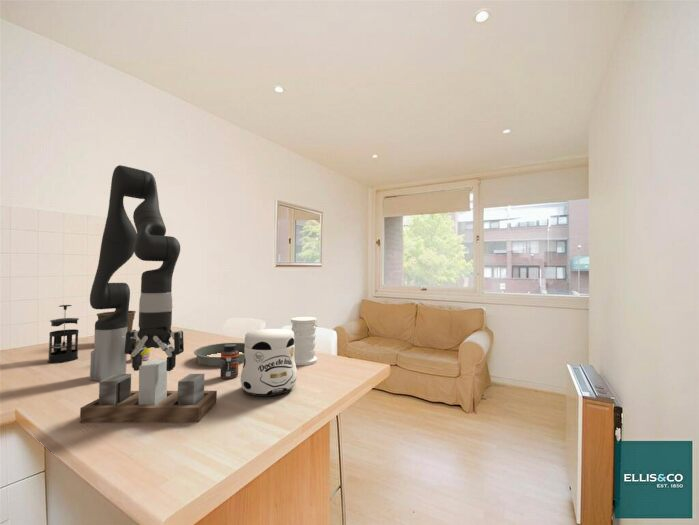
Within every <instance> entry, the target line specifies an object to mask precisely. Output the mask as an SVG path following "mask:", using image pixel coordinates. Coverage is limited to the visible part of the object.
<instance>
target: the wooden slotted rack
mask: <svg viewBox="0 0 699 525" xmlns="http://www.w3.org/2000/svg"><path fill="white" fill-rule="evenodd" d="M98 382H99V385H98V388H99V389H98V398H97V399H95V400H93V401H91V402H89V403H87V404H85V405H83V406H81V407H80V408H79V410H80V411H79V414H80V415H79V423H83V424H84V423H85V424H86V423H89V424H91V423H92V424H95V423H96V424H97V423H99V424H102V423H103V424H104V423H108V424H109V423H112V424H113V423H114V424H115V423H121V424H123V423H129V424H130V423H200V421H202V420H203V419H204V418H205V416H206V415H207V414H208V413H209V412H210V411H211V410H212V409H213V408H214V406H216V405H217V401H218V400H217V397H218V396H217V394H218V392H217V391H218V390H205V373H188V374H187V375H186V376H183V378H182V379H180V380H179V381H178V383H177V390H167V398H165V399H164V400H162V401H161V402H160V403H158V404H157V405H139V390H132V373H126V374H115V375H113V376H110V377H108V378H106V379H104V380H102V381H98Z"/></svg>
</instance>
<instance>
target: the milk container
mask: <svg viewBox="0 0 699 525" xmlns="http://www.w3.org/2000/svg"><path fill="white" fill-rule="evenodd" d="M244 343H245V348H244V353H245V359H244V362H243V365H242V370H241V373H240V382H241V387H242V389H243V391H244V392H246V393H247V394H249V395H253V396H260V397H262V396H263V397H266V396H267V397H268V396H276V395H280V394H283V393H286V392H288V391H290V390H291V389H293V387H295V384H296V381H297V377H298V369H297V365H296V364H295V360H294V348H295V345H294V332H293V331H292V329H291V330H290V329H285V328H265V329H263V328H262V329H256V330H251V331H248V332H246V333H245V335H244Z"/></svg>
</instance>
